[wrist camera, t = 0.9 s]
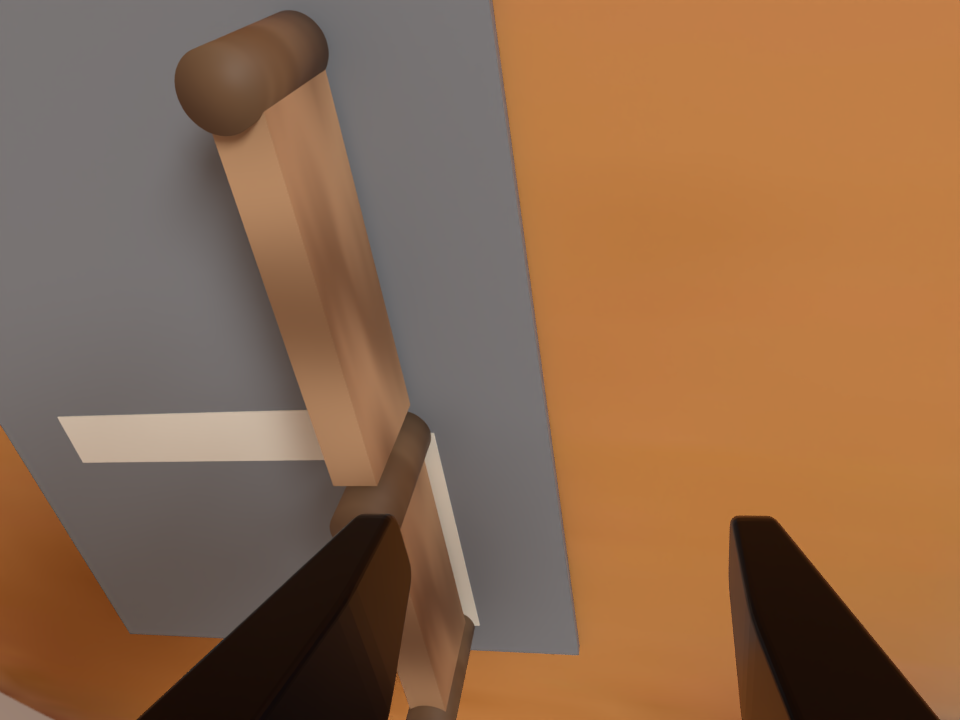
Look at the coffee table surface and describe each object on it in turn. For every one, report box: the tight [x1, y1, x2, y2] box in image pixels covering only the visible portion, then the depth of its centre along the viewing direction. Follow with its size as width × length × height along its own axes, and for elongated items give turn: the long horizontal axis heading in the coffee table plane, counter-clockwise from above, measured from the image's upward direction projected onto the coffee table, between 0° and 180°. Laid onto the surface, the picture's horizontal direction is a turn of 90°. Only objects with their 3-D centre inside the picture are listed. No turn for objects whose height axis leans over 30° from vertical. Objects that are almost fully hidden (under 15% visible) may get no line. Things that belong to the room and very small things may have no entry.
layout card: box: [0, 0, 579, 655], centre depth 24 cm, size 24×19×1 cm
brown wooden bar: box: [174, 10, 410, 486], centre depth 18 cm, size 11×2×4 cm, turn 9°
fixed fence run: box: [330, 412, 475, 720], centre depth 24 cm, size 11×2×5 cm, turn 9°
